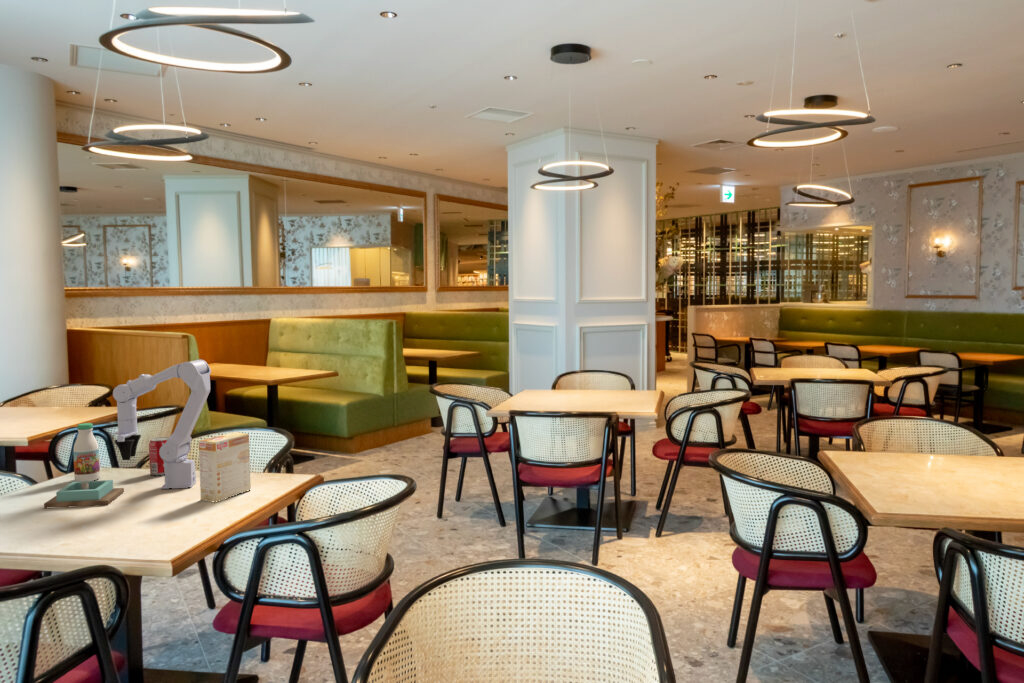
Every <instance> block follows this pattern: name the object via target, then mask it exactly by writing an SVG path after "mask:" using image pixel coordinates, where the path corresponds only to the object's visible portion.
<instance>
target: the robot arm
mask: <svg viewBox="0 0 1024 683" xmlns="http://www.w3.org/2000/svg"><path fill="white" fill-rule="evenodd" d="M211 373H212V369H211V367H210V366H209V364H208V363H207V361H205V360H204V359H201V358H200V359H198V358H197V359H195V360H191V361H184V362H182V363H177V364H174V365H172V366H170V367H168V368H166V369H165V368H164V369H163V370H161V371H160V372H157V373H156V374H153V375H151V374H148V373H147V374H145V373H142V374H140V375H138V378H135V379H129V380H127V381H126V383H125V384H118V385H117V386H116V387H114V389H113V391H112V396H113V398H114V400H115V401H116V410H117V412H116V413H117V431H115V432H114V435H115V436H116V438H117V439H115V440H114V444H115V445H116V446H117V448H118V450H119V452H120V457H121V458H122V461H130V460H131V457H132V458H133V457H135V456H136V453H137V448H138V444H139V441H140V439H141V438H142V435H141V434H139V427H138V416H137V403H138V402H137V401H138V400H137V399H138V397H140V396H143V395H145V394H147V393H149V392H151V391H154V390H156V388H157V385H158V384H160V383H163V382H165V381H168V380H171V379H173V378H176V379H180V380H182V381H183V382H184V383H185V384H186V385H187V386H188V388H189V389H190V391H191V392H190V394H189V397H188V399H187V401H186V403H185V406H184V407H183V410H182V413H181V415H180V417H179V419H178V422H177V423H176V427H175V428H174V430H173V432H172V434H170V435H169V437H168V439H167V441H166V443H165V444H164V445H163V446H162V447H161V448H160V451H159V454H160V457H161V458H162V459H163V460H164V474H165V475H164V484H163V485H162V486H161V487H160V489H161V490H166V489H167V490H168V489H169V488H172V489H186V488H187V489H189V488H188V487H190V488H192V487H193V486H194V485H195V484H196V482H197V477H196V476H197V475H196V462H195V459H188V454H189V453H190V452H191V448H192V445H191V444H192V440H193V438H192V433H193V430H194V428H195V426H196V424H197V422H198V419H199V417H200V416H201V412H202V410H203V408H204V407H205V406H204V405H205V404H206V401H207V399H208V396H209V394H210V393H211V378H210V377H211V376H210V375H211Z"/></svg>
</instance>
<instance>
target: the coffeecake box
mask: <svg viewBox="0 0 1024 683" xmlns="http://www.w3.org/2000/svg"><path fill="white" fill-rule="evenodd" d="M198 460H199V461H198V464H199V485H200V487H199V490H200V501H203V500H207V501H206V502H209V501H214V502H216V501H219V500H222V499H224V500H226V499H225V498H227V499H229V498H228V497H230V498H232V497H231V496H233V495H236V494H239V493H242V492H245V491H247V490H250V489H251V484H252V483H251V464H250V462H251V461H250V460H251V459H250V434H249V433H247V432H246V433H245V432H240V431H233V432H228V433H225V434H221V435H216V436H212V437H209V438H204V439H201V440H200V439H199V440H198ZM251 490H252V489H251ZM245 493H246V492H245ZM242 494H243V493H242ZM239 495H240V494H239ZM236 496H237V495H236ZM233 497H234V496H233ZM222 501H223V500H222ZM214 502H213V503H214ZM219 502H220V501H219ZM216 503H217V502H216Z"/></svg>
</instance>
